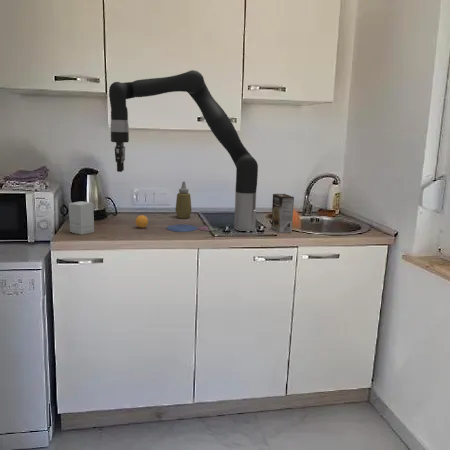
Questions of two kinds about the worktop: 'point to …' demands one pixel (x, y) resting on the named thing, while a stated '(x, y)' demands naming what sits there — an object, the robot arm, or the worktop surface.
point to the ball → (141, 221)
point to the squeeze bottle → (183, 203)
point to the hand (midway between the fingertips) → (120, 170)
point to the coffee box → (282, 212)
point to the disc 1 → (182, 228)
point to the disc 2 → (203, 228)
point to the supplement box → (81, 217)
